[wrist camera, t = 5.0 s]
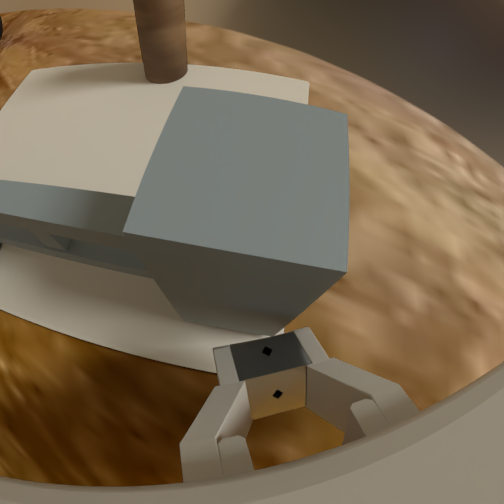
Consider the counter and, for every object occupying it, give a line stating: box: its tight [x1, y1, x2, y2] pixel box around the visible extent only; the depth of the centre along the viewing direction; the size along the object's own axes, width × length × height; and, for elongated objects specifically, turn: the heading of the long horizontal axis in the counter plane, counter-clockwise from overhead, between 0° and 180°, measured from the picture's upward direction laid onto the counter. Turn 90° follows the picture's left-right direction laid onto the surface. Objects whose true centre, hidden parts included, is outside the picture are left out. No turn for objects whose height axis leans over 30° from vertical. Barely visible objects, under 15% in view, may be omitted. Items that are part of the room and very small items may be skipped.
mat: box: [0, 63, 309, 373], centre depth 17 cm, size 25×20×1 cm
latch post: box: [133, 0, 188, 84], centre depth 16 cm, size 3×3×10 cm
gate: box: [0, 86, 349, 336], centre depth 10 cm, size 21×4×9 cm, turn 81°
